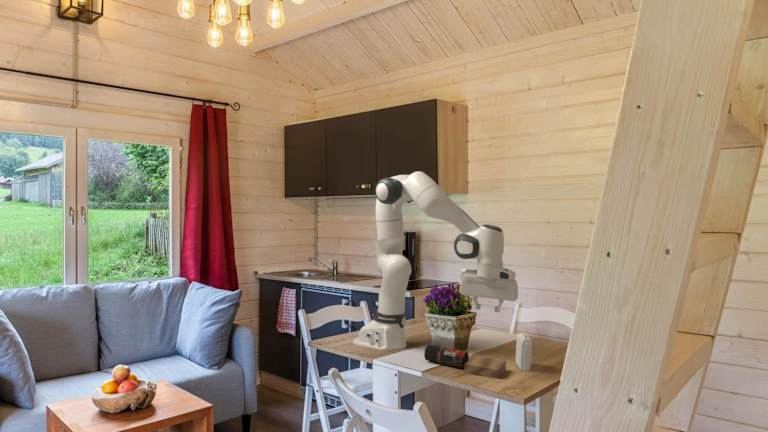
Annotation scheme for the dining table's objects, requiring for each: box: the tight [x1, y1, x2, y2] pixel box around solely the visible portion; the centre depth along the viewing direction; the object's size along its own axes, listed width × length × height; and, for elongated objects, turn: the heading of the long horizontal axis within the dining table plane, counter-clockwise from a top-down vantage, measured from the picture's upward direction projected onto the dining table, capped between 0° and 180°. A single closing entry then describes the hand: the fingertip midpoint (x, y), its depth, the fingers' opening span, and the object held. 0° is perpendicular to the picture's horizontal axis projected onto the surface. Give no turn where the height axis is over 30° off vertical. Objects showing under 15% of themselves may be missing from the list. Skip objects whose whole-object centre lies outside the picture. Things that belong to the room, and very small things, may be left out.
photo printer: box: [514, 332, 533, 372], centre depth 214 cm, size 10×4×12 cm, turn 179°
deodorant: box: [424, 344, 470, 369], centre depth 213 cm, size 6×6×15 cm
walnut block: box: [463, 355, 507, 379], centre depth 206 cm, size 12×12×4 cm
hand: (487, 310), depth 205 cm, fingers open, 5 cm apart
